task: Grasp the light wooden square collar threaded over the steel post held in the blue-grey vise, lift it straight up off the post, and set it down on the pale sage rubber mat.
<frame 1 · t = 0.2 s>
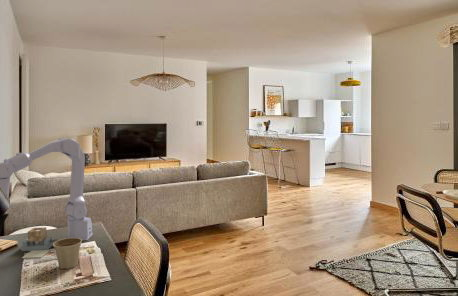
vise: (38, 247, 143), on the table
mat: (36, 254, 135), on the table
flower pot: (69, 266, 125), on the table
collar: (37, 239, 143), point 3 cm above the table, touching vise
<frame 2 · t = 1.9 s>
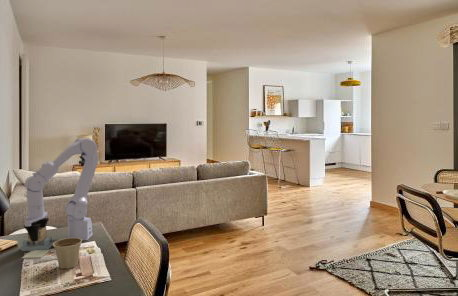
hand: (37, 238, 143), 4 cm above the table, tool pointing down, fingers closed on collar, 5 cm apart
collar: (37, 239, 143), point 3 cm above the table, touching gripper, vise
everything else where it was.
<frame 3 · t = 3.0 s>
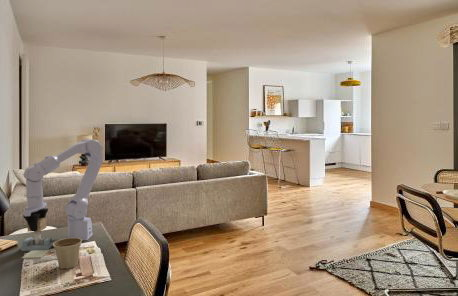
hand: (37, 228, 143), 8 cm above the table, tool pointing down, fingers closed on collar, 5 cm apart
collar: (37, 229, 143), point 8 cm above the table, touching gripper
everything else where it was.
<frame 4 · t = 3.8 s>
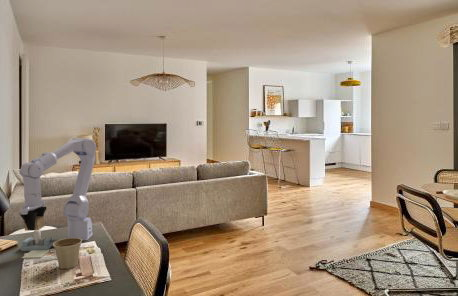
hand: (34, 227, 136), 10 cm above the table, tool pointing down, fingers closed on collar, 5 cm apart
collar: (34, 228, 137), point 10 cm above the table, touching gripper
everything else where it was.
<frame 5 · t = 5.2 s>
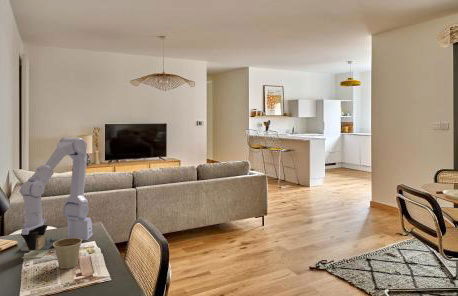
hand: (35, 247, 135), 3 cm above the table, tool pointing down, fingers closed on collar, 5 cm apart
collar: (35, 247, 135), point 3 cm above the table, touching gripper
everything else where it was.
when the fingers open (2 cm above the table, at t = 6.0 s): collar drops 1 cm, resting on mat.
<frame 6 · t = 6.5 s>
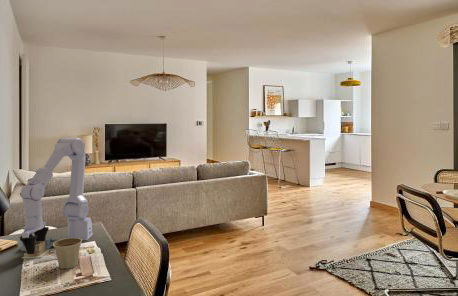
hand: (36, 250, 135), 2 cm above the table, tool pointing down, fingers open, 7 cm apart
collar: (36, 253, 135), resting on mat
everything else where it was.
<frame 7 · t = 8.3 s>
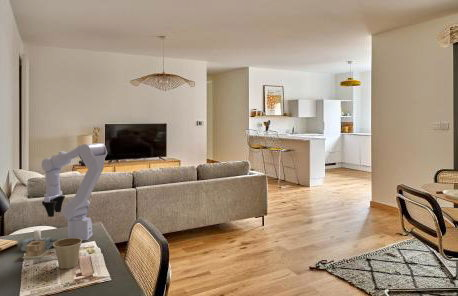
hand: (54, 214, 158), 9 cm above the table, tool pointing down, fingers open, 7 cm apart
nothing on the table moved.
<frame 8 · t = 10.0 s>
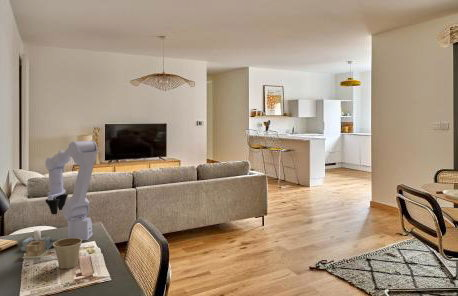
hand: (57, 212, 162), 9 cm above the table, tool pointing down, fingers open, 7 cm apart
nothing on the table moved.
at the end: collar 0.1 cm off-centre on the mat, point 0.4 cm above the mat's base; collar tilted 0°; the gripper is holding nothing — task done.
